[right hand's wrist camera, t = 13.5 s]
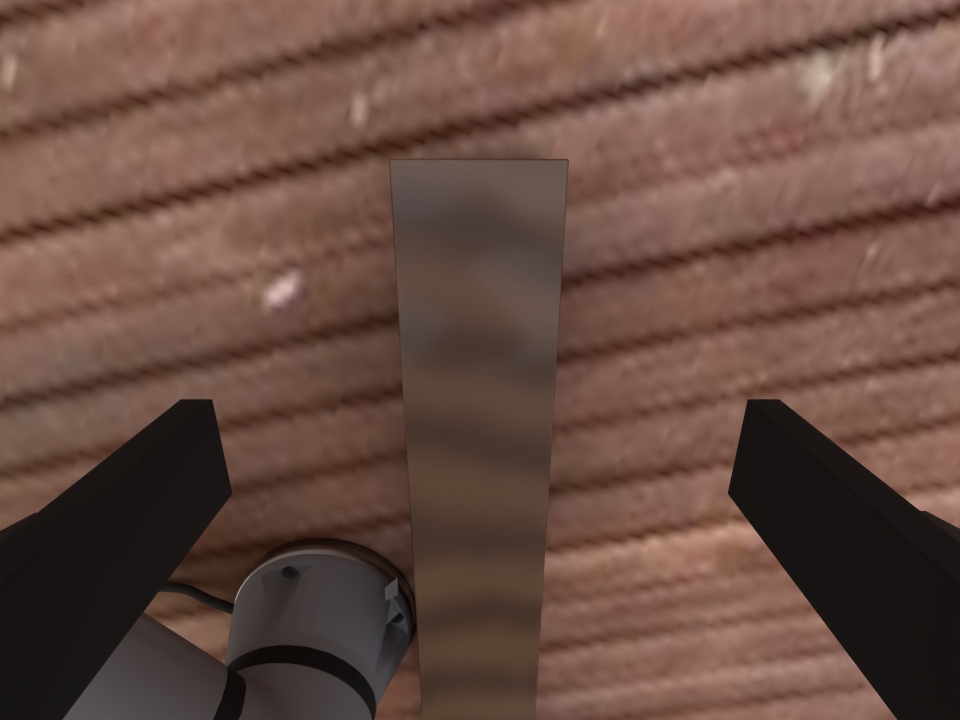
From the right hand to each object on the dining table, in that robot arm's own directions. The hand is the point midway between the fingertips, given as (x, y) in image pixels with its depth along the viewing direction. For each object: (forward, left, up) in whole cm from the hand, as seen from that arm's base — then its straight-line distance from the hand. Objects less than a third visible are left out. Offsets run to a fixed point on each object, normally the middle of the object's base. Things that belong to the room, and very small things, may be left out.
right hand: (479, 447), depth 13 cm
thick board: (+14, -25, -23) cm, 37 cm away
